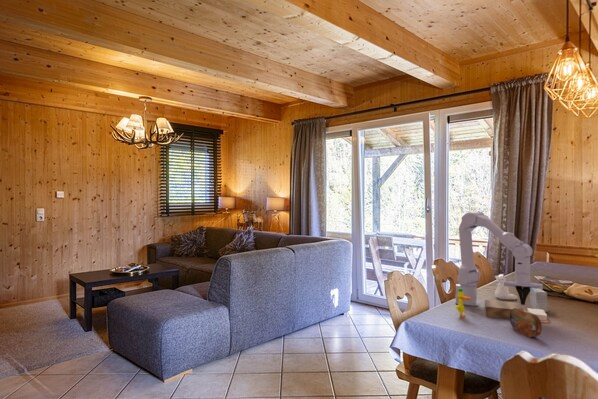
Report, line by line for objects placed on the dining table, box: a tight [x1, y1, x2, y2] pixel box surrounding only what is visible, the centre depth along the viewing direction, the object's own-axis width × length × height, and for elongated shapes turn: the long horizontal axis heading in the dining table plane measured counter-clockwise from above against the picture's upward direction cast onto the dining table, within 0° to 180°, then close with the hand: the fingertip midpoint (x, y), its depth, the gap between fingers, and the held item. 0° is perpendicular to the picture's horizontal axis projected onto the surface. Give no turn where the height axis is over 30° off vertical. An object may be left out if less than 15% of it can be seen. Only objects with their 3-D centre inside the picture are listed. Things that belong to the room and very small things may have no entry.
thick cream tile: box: [526, 307, 548, 320], centre depth 164 cm, size 6×9×2 cm, turn 156°
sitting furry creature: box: [494, 273, 518, 301], centre depth 195 cm, size 10×9×12 cm
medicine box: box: [529, 288, 548, 313], centre depth 176 cm, size 8×4×9 cm, turn 168°
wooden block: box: [484, 299, 523, 319], centre depth 169 cm, size 14×12×4 cm
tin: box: [509, 308, 542, 338], centre depth 146 cm, size 15×3×8 cm, turn 5°
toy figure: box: [454, 288, 471, 318], centre depth 166 cm, size 7×4×12 cm, turn 54°
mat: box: [540, 319, 550, 324], centre depth 164 cm, size 9×14×1 cm, turn 156°
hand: (522, 304), depth 166 cm, fingers closed
